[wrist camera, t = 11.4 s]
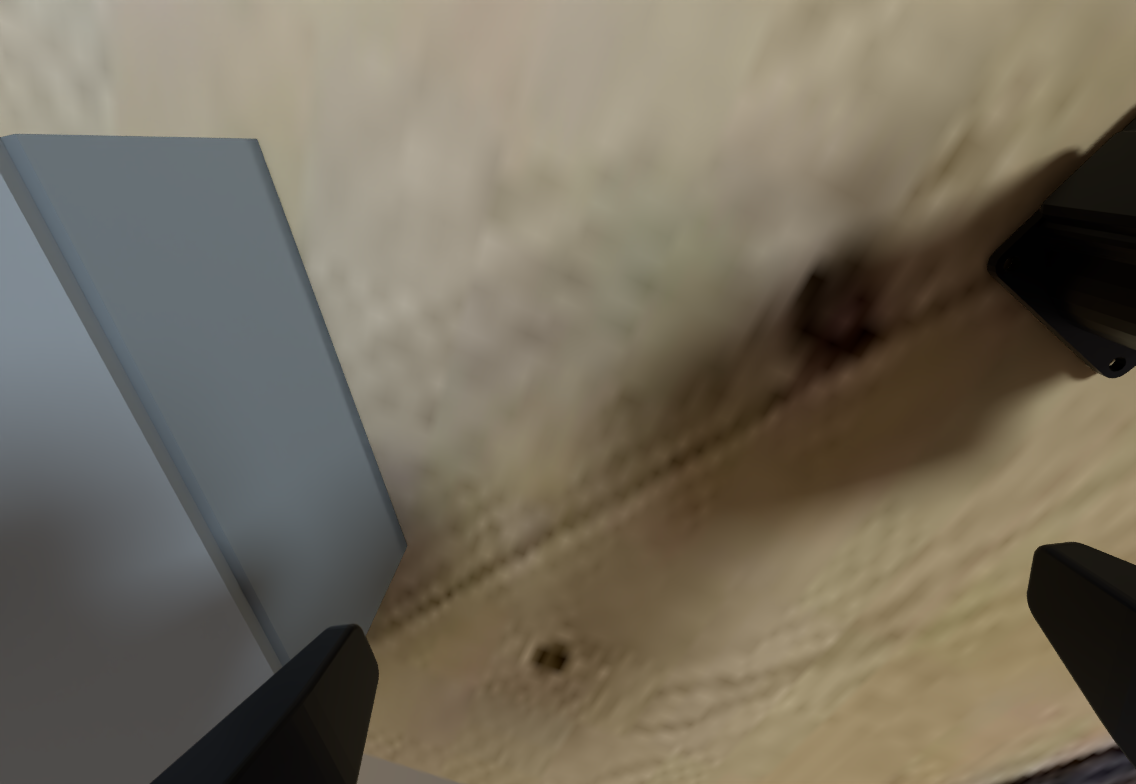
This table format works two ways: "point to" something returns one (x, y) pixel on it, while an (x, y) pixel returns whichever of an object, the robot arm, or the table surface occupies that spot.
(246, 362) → the carton
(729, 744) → the table surface
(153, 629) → the carton lid
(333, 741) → the robot arm
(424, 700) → the table surface
